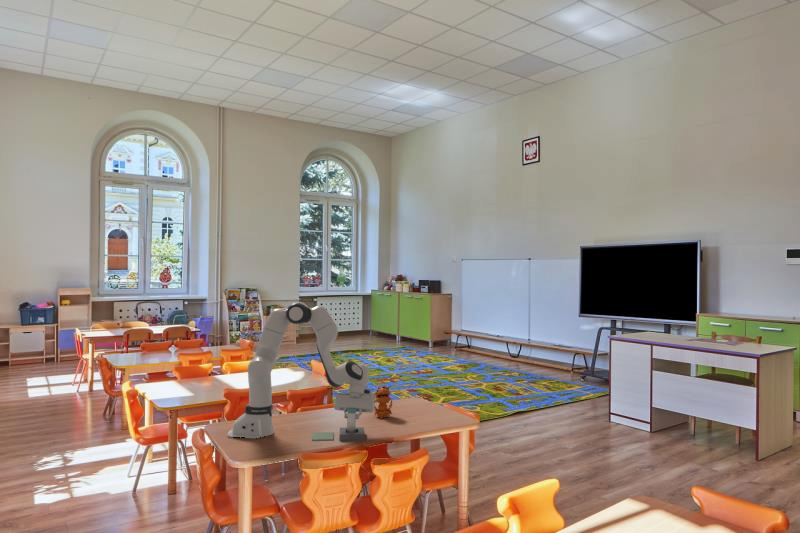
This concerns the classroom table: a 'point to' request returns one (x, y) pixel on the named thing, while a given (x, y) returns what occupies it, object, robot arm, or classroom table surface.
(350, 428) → the filter cartridge
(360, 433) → the grey square base
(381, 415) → the brown plush toy
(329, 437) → the service mat
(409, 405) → the classroom table surface
